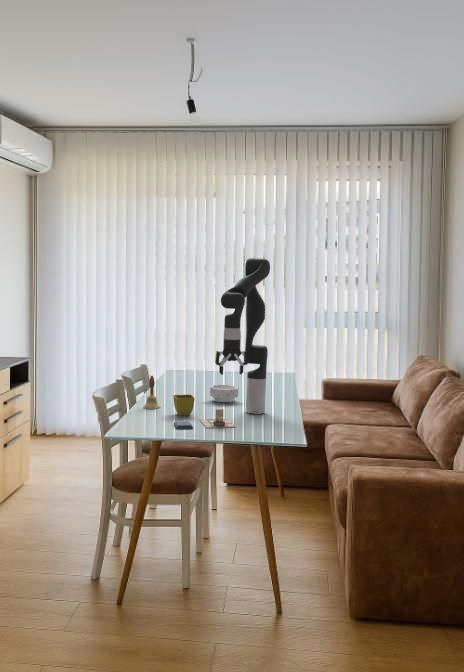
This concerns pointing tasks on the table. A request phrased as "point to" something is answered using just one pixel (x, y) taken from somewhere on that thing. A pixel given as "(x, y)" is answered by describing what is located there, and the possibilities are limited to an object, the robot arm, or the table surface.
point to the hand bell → (151, 397)
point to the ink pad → (183, 425)
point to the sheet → (210, 424)
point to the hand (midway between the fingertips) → (231, 374)
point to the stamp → (219, 418)
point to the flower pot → (183, 404)
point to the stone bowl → (224, 393)
